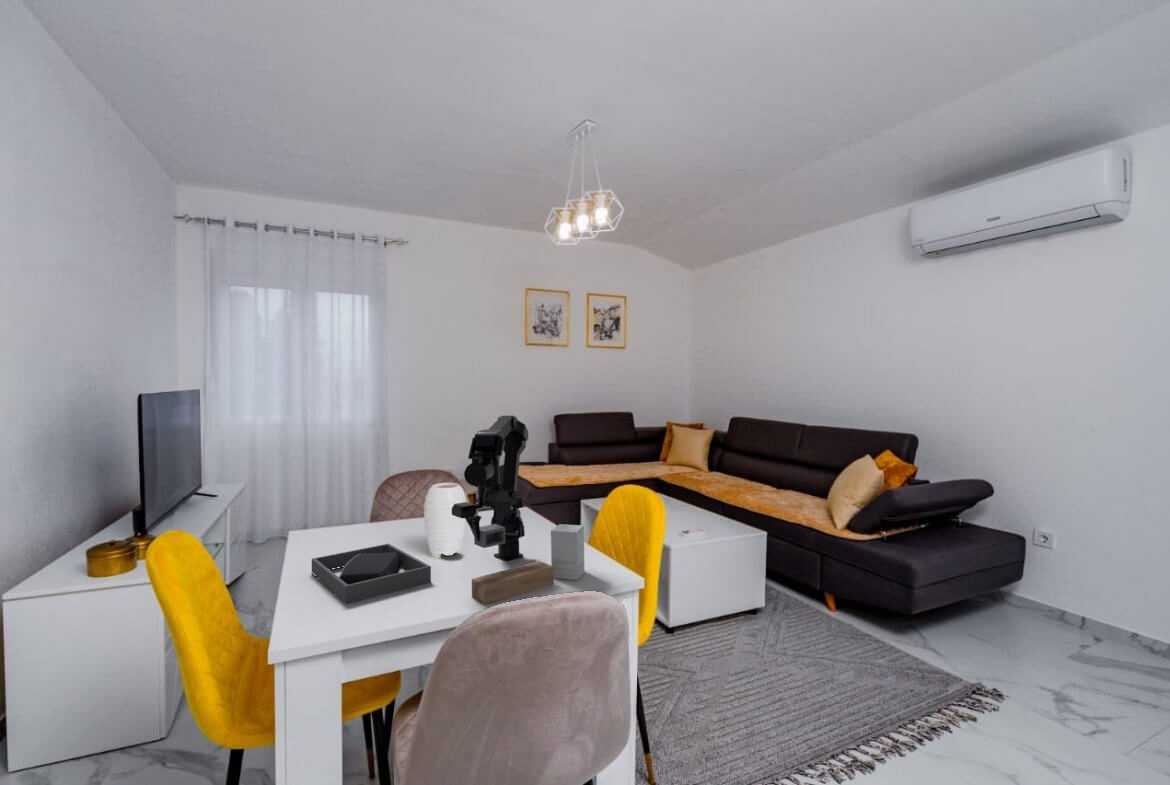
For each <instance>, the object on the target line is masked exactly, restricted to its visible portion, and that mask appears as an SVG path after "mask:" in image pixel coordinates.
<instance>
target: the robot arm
mask: <svg viewBox="0 0 1170 785" xmlns="http://www.w3.org/2000/svg"><path fill="white" fill-rule="evenodd" d="M528 440H529V430H528V428H527V426H526V424H525V423H523V422H522V421H520V420H519V419H518V418H517V416H516V415H515V416H514V415H501V416H498V417H497V420H496V421H495V422H494V423H493V424H492V425H491V426H490V427H489V428H487V429H481V430H478V431H476V433H475V434H474V435H473V437H472V441H471V444H470V449H469V451H468V459H469V460H471V463H470V464H468V465H467V466H466V467H465V469H464V472H463V476H464V479H465V482H466V483H467V484H468V485H470V486H473V487H474V488H477V497H475V498H474V504H473V503H470V502H467V501H464V502H458V503H457V502H456V503H454V504H453V505H452V508H451V515H452V516H454V517H456V518H459V519H465V521H466V522H467V524H468V526H469V528H470V531H471V532H472V535H473V537H475V539H476V541H479V539H480V527H481V526H480V522H481V519H482V516H480V515H479V512H482V511H488V510H493V515H492V517H491V520H490V525H492V524H497V525H500V526H503V527H505V543H504V544H500V545H497V546H498V548H497V552H498V553H497V552H496V553H494V554H493V556H494V557H495V558H498V559H500V560H502V561H510V560H514V559H518V558H522V557H524V554H523V553H520V539H521V538H522V537H525V535H526V534H525V525H524V521H523V519H522V516H521V511H520V509H521V508H524V504H525V503H524V499H523V498H522V496H521V495H520V496H519V494H518V493H519V492H518V481H519V469H520V468H519V467H520V460H521V459H520V457H521V455H522V454H523V452H524V450H525V449H526V448H527V442H528ZM503 452H504V456H502V455H503ZM501 457H503V458H504V459H503V471H502V482H501V481H500V459H501Z"/></svg>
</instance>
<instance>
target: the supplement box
mask: <svg viewBox="0 0 1170 785" xmlns="http://www.w3.org/2000/svg"><path fill="white" fill-rule="evenodd" d="M584 531H585V528H584V525H582V524H581V525H579V524H578V525H577V524H562V523H559V524H558V525H556V526H555V527H554V528H553V529H551V530H550V546H551V547H550V548H551V549H550V552H551V554H550V555H551V556H550V558H551V561H550V562H551V564H550V565H551V566H553V579H559V580H561V579H562V580H573V581H578V580H579V579H580V578H581V577H582V576H583V574H584V572H585V570H586V569H585V532H584Z"/></svg>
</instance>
